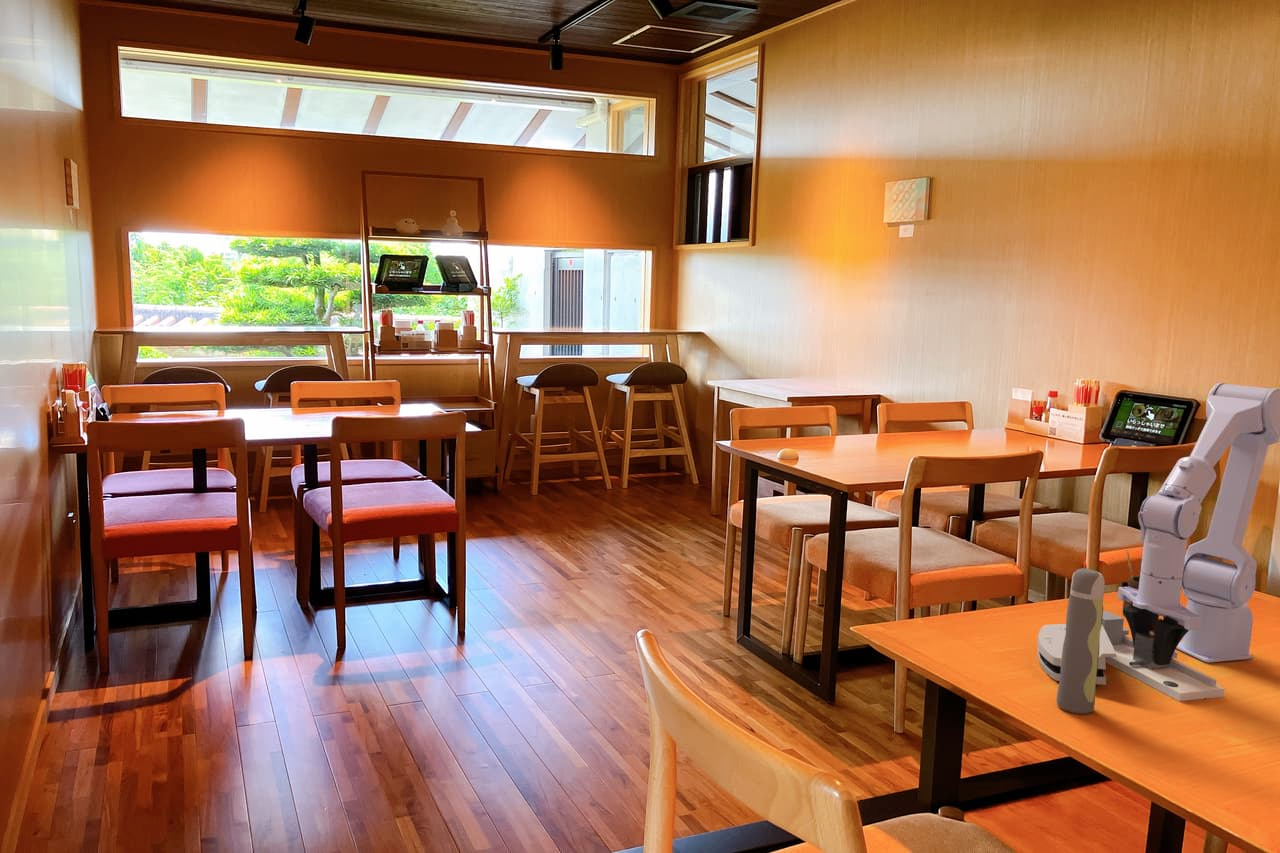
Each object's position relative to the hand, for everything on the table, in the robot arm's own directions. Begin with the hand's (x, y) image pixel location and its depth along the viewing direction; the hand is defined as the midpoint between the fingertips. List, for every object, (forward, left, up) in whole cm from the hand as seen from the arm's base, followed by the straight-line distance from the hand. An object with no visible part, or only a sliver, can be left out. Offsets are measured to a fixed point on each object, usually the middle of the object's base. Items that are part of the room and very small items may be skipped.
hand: (1151, 658), depth 152 cm
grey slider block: (0, 0, -1) cm, 1 cm away
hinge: (+8, -2, 0) cm, 8 cm away
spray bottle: (+21, +9, -2) cm, 23 cm away
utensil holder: (-18, -22, -2) cm, 29 cm away
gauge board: (0, -1, -2) cm, 2 cm away
